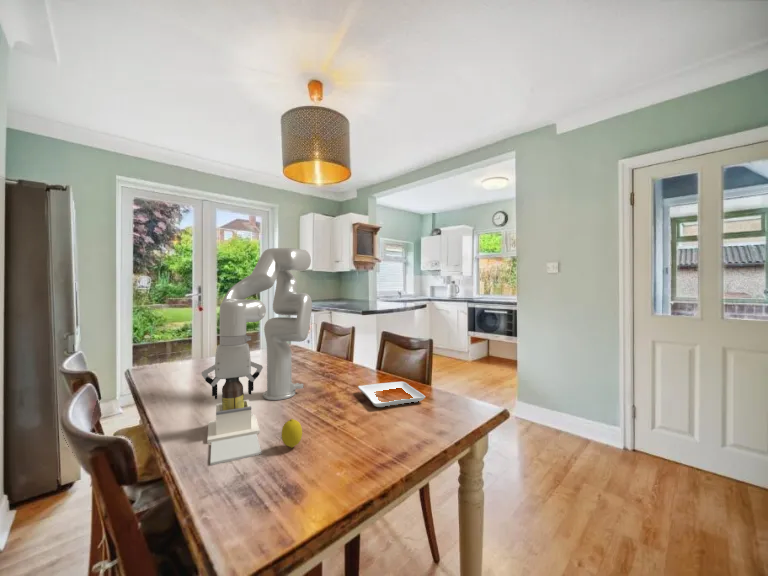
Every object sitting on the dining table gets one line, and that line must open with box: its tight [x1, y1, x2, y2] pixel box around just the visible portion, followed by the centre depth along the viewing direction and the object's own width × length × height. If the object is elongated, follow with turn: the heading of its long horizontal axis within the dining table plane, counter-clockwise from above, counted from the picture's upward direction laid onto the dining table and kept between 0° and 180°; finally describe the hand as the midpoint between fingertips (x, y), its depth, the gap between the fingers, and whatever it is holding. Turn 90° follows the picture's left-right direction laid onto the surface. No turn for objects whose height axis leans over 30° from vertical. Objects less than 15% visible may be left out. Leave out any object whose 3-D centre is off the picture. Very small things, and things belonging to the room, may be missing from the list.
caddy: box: [206, 399, 261, 444], centre depth 103 cm, size 14×14×8 cm
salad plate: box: [357, 381, 426, 408], centre depth 131 cm, size 21×21×3 cm
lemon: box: [281, 418, 303, 449], centre depth 91 cm, size 6×6×8 cm
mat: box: [209, 434, 262, 466], centre depth 91 cm, size 12×12×1 cm
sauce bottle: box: [221, 377, 245, 411], centre depth 103 cm, size 6×6×20 cm
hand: (233, 395), depth 103 cm, fingers open, 9 cm apart
